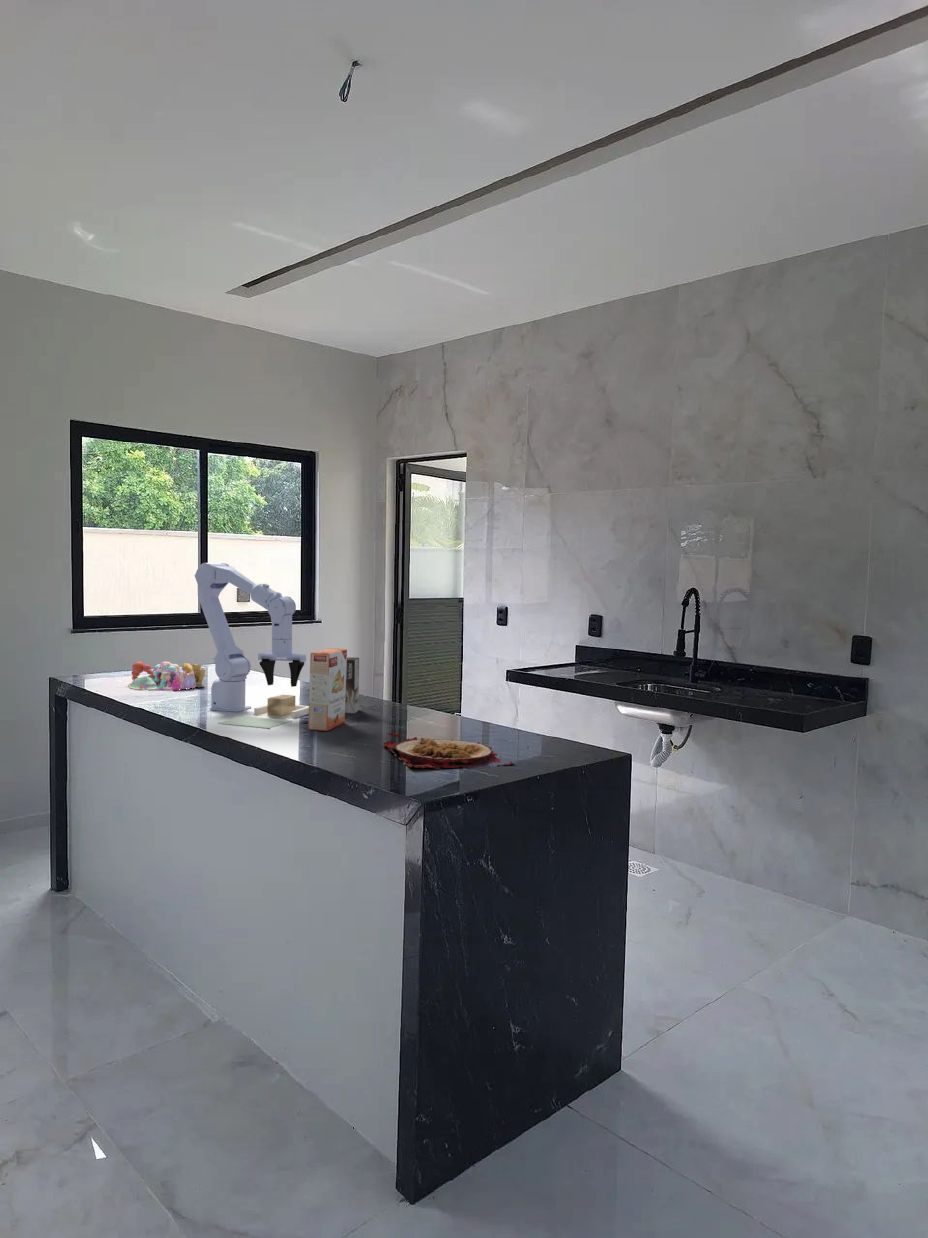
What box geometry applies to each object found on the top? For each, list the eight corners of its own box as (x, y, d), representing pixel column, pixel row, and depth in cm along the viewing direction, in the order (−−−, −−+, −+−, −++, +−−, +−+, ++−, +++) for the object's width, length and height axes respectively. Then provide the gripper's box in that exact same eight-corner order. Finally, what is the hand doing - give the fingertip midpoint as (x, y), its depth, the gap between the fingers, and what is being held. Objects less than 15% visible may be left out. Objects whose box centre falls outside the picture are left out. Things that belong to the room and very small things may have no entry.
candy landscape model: (189, 680, 320) (189, 655, 319) (216, 689, 302) (216, 662, 301) (119, 685, 304) (119, 659, 303) (143, 694, 286) (143, 666, 285)
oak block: (267, 715, 251) (267, 698, 251) (281, 711, 259) (281, 694, 259) (281, 716, 250) (281, 699, 250) (295, 712, 258) (295, 695, 257)
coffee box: (359, 710, 265) (360, 657, 264) (354, 714, 259) (355, 659, 258) (329, 709, 266) (330, 656, 265) (324, 712, 260) (325, 658, 259)
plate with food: (411, 775, 191) (412, 759, 191) (381, 746, 216) (382, 732, 216) (515, 770, 199) (516, 755, 199) (475, 743, 224) (475, 729, 224)
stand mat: (217, 724, 238) (217, 722, 238) (242, 716, 249) (242, 715, 249) (269, 729, 233) (269, 728, 233) (292, 721, 244) (292, 720, 244)
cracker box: (328, 732, 231) (330, 653, 230) (307, 730, 232) (308, 652, 231) (346, 722, 245) (348, 648, 244) (326, 721, 246) (327, 647, 245)
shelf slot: (253, 715, 252) (253, 708, 252) (272, 709, 262) (272, 703, 262) (293, 719, 248) (293, 712, 248) (312, 713, 258) (312, 706, 258)
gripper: (252, 639, 251) (252, 686, 252) (297, 640, 247) (297, 688, 248) (265, 637, 258) (265, 683, 259) (309, 638, 254) (309, 685, 255)
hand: (282, 685), depth 254 cm, fingers open, 7 cm apart
